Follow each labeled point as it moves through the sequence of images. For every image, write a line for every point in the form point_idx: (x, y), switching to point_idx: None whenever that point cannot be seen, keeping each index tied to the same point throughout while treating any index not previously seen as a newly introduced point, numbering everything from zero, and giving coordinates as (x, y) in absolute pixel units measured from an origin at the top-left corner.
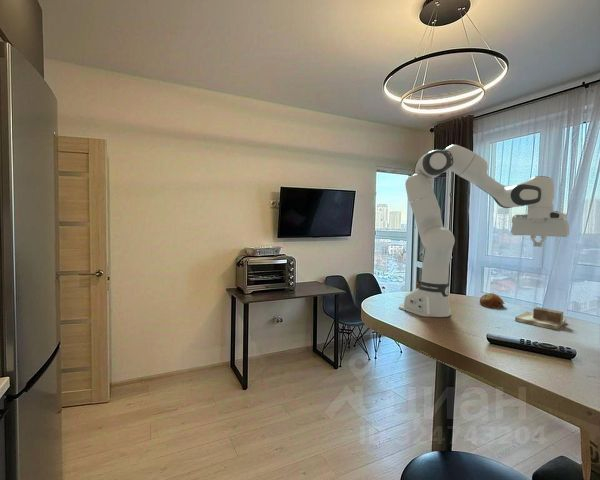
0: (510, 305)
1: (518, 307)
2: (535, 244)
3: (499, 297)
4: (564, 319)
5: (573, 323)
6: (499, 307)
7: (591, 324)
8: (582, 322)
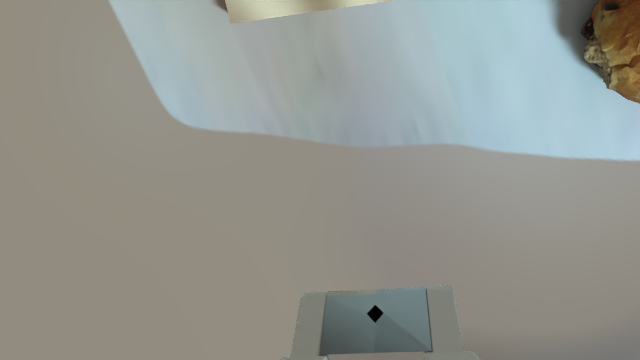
0: (562, 132)
1: (513, 126)
2: (410, 308)
3: (635, 58)
4: (231, 11)
5: (213, 44)
6: (598, 1)
7: (172, 103)
8: (205, 104)
